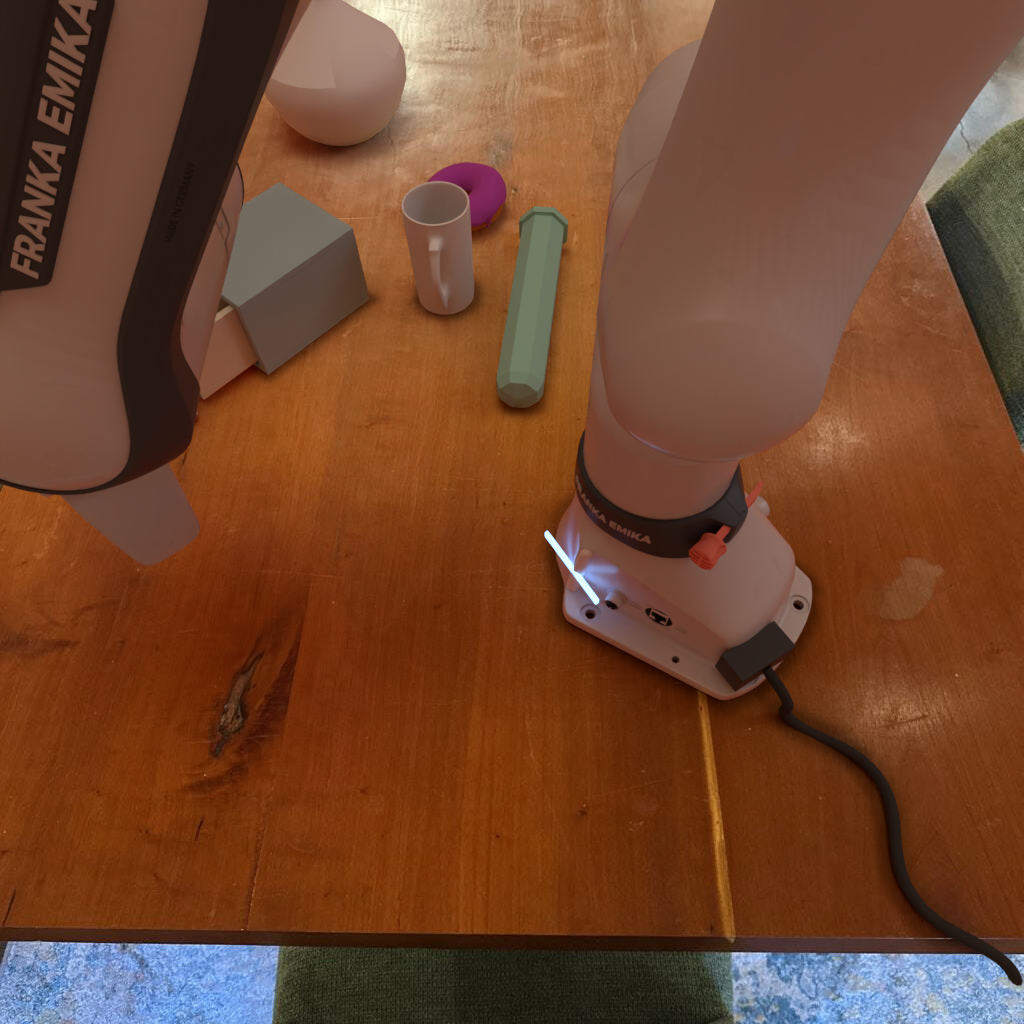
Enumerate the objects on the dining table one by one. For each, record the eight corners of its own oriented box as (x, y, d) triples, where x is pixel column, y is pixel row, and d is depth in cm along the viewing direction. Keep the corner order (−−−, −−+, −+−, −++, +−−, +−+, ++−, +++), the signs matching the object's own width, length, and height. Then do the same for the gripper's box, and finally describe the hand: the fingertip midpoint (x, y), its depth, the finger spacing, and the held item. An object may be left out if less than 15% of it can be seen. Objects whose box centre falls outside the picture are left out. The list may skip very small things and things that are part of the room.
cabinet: (268, 375, 80) (238, 306, 71) (200, 323, 84) (164, 252, 75) (370, 299, 85) (353, 227, 77) (302, 254, 89) (279, 181, 81)
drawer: (152, 447, 74) (115, 395, 67) (92, 393, 78) (51, 339, 71) (293, 343, 81) (272, 286, 74) (232, 298, 84) (206, 240, 78)
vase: (250, 123, 103) (197, -37, 87) (360, 71, 109) (330, -88, 93) (328, 185, 96) (287, 22, 79) (441, 125, 102) (424, -37, 86)
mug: (418, 274, 87) (404, 181, 77) (477, 274, 87) (470, 180, 77) (411, 339, 82) (394, 248, 71) (474, 339, 82) (466, 248, 71)
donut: (462, 176, 96) (459, 142, 92) (525, 208, 93) (525, 174, 89) (406, 219, 92) (401, 185, 88) (470, 253, 89) (468, 220, 85)
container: (534, 374, 71) (559, 198, 83) (477, 385, 73) (509, 213, 86) (556, 413, 75) (577, 240, 88) (502, 422, 78) (530, 253, 90)
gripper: (-107, 274, 43) (30, 425, 55) (41, 505, 35) (165, 624, 46) (2, 224, 45) (112, 380, 57) (166, 431, 37) (254, 563, 49)
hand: (137, 492), depth 52 cm, fingers closed on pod, 4 cm apart
